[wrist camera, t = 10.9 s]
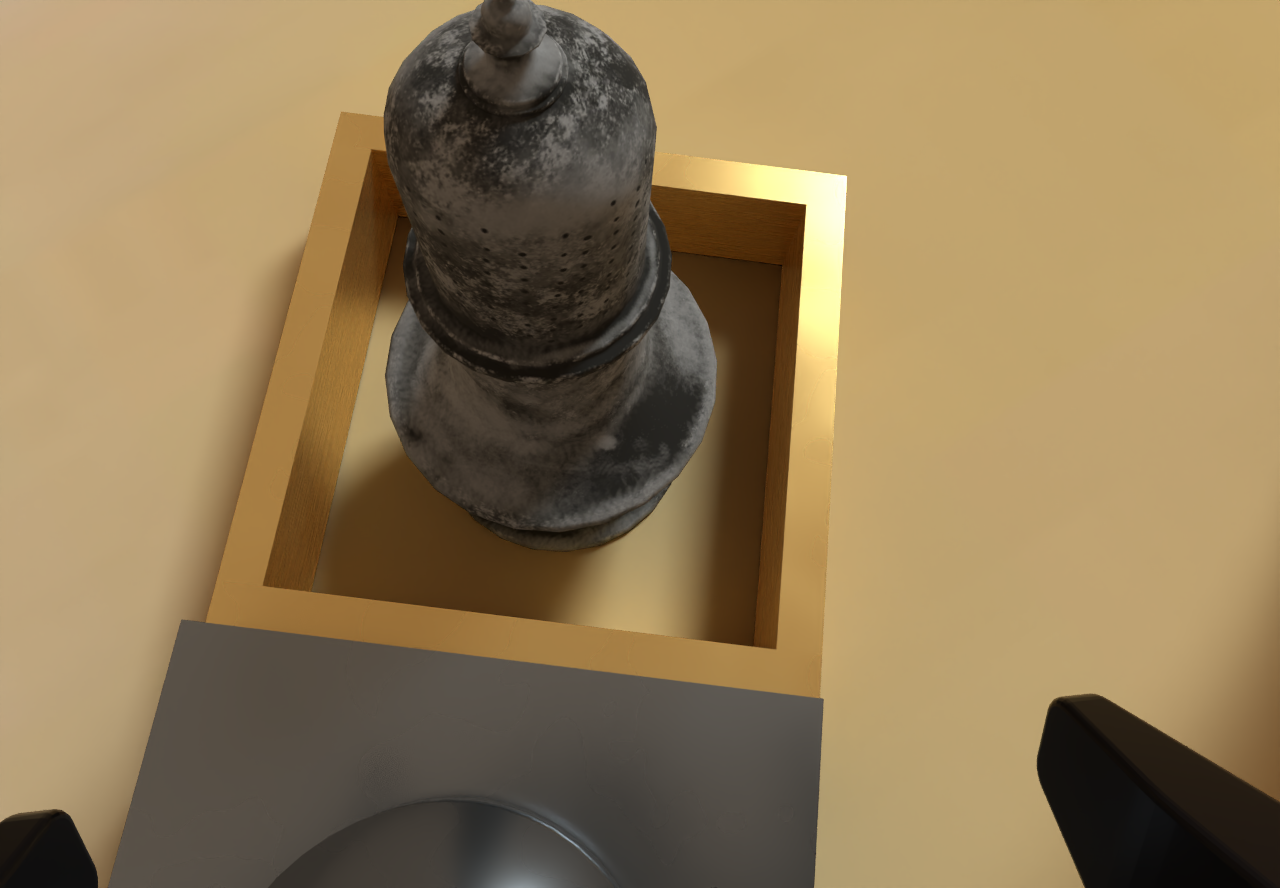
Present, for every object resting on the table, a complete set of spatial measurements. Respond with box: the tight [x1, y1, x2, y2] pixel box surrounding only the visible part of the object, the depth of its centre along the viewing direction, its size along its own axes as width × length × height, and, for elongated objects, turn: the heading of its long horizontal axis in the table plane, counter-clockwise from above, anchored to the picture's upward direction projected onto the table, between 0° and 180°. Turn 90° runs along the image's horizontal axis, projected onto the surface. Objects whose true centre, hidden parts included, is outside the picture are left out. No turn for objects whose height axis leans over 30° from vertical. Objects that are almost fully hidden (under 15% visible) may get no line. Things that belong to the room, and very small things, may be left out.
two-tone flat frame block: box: [108, 112, 847, 888], centre depth 15 cm, size 21×11×5 cm, turn 173°
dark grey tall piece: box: [384, 0, 717, 552], centre depth 13 cm, size 6×6×12 cm
